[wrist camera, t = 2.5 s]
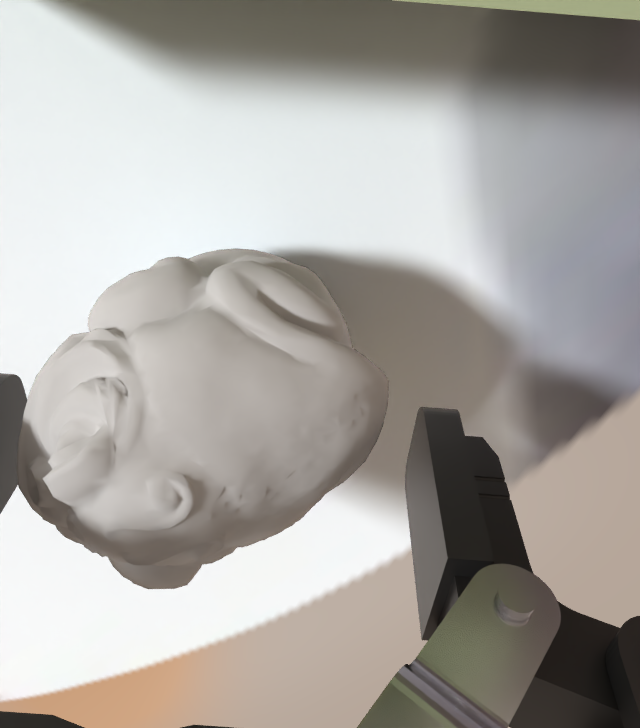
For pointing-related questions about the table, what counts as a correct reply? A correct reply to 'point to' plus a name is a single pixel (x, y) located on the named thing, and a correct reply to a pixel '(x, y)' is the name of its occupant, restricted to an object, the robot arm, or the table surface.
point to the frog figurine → (197, 414)
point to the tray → (555, 6)
